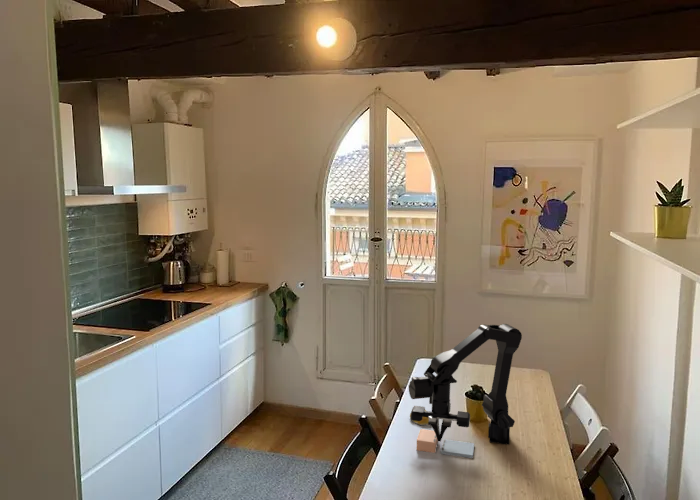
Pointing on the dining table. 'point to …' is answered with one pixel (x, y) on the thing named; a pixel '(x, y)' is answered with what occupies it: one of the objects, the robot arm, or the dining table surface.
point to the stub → (427, 441)
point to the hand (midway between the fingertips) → (439, 440)
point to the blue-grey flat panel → (457, 448)
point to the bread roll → (422, 421)
